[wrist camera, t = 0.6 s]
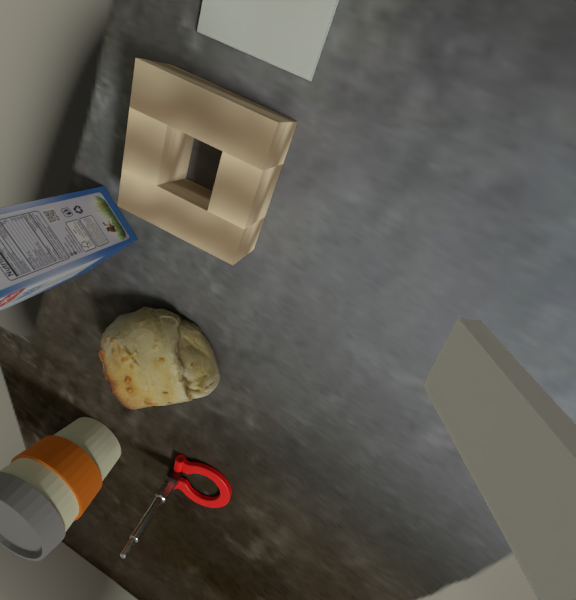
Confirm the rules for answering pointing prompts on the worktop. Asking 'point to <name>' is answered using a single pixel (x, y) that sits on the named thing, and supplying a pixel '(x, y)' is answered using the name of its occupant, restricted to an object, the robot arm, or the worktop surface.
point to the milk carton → (57, 241)
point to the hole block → (177, 152)
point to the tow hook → (177, 481)
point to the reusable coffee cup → (53, 486)
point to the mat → (272, 29)
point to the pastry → (157, 359)
